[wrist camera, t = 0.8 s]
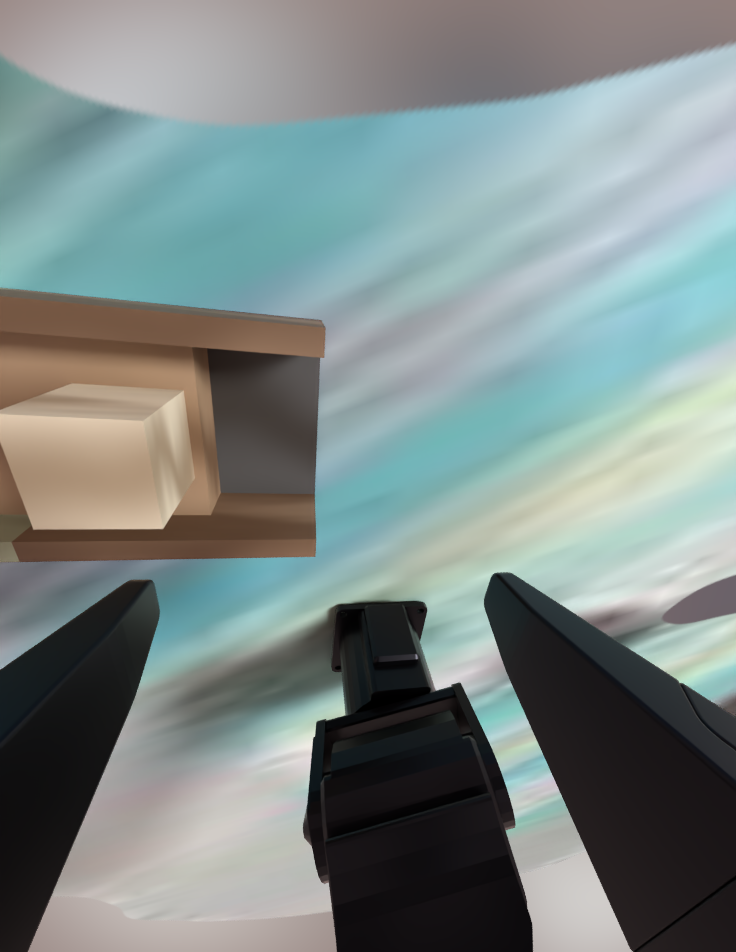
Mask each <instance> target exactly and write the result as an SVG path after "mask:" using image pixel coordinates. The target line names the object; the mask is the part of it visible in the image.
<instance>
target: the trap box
mask: <svg viewBox="0 0 736 952" xmlns="http://www.w3.org/2000/svg"><path fill="white" fill-rule="evenodd" d="M324 349H325V326H324V324H323V323H322V321H321V320H314V319H304V318H294V317H284V316H274V315H264V314H255V313H245V312H235V311H225V310H215V309H205V308H195V307H186V306H176V305H166V304H156V303H146V302H136V301H126V300H116V299H107V298H97V297H87V296H77V295H67V294H57V293H47V292H37V291H28V290H18V289H8V288H0V410H1V409H4V408H6V407H9V406H12V405H15V404H17V403H20V402H23V401H25V400H28V399H31V398H34V397H36V396H39V395H42V394H45V393H47V392H50V391H53V390H55V389H58V388H61V387H64V386H66V385H69V384H72V383H73V384H89V385H106V386H122V387H138V388H154V389H170V390H184V397H185V405H186V412H187V420H188V428H189V436H190V444H191V451H192V459H193V467H194V475H195V479H194V480H193V482H192V484H191V485H190V487H189V488H188V490H187V492H186V493H185V495H184V496H183V498H182V500H181V501H180V503H179V504H178V506H177V508H176V509H175V511H174V512H173V514H172V516H171V517H170V519H169V520H168V522H167V524H166V525H165V527H164V528H163V529H36V530H33V527H32V524H31V522H30V519H29V517H28V514H27V511H26V509H25V506H24V503H23V501H22V498H21V496H20V493H19V490H18V488H17V485H16V482H15V480H14V477H13V475H12V472H11V469H10V467H9V464H8V461H7V459H6V456H5V454H4V451H3V448H2V446H1V443H0V562H42V561H98V560H154V559H211V558H267V557H315V553H316V521H315V471H316V446H317V420H318V395H319V369H320V358H324Z"/></svg>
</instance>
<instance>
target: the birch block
mask: <svg viewBox="0 0 736 952" xmlns="http://www.w3.org/2000/svg"><path fill="white" fill-rule="evenodd" d="M0 443H1V446H2V448H3V451H4V454H5V456H6V459H7V461H8V464H9V467H10V469H11V472H12V475H13V477H14V480H15V482H16V485H17V488H18V490H19V493H20V496H21V498H22V501H23V503H24V506H25V509H26V511H27V514H28V517H29V519H30V522H31V524H32V527H33V530H36V529H163V528H164V527H165V525H166V524H167V522H168V520H169V519H170V517H171V516H172V514H173V512H174V511H175V509H176V508H177V506H178V504H179V503H180V501H181V500H182V498H183V496H184V495H185V493H186V492H187V490H188V488H189V487H190V485H191V484H192V482H193V480H194V479H195V475H194V467H193V459H192V451H191V444H190V436H189V428H188V420H187V412H186V405H185V397H184V390H170V389H154V388H138V387H122V386H106V385H89V384H73V383H72V384H69V385H66V386H64V387H61V388H58V389H55V390H53V391H50V392H47V393H45V394H42V395H39V396H36V397H34V398H31V399H28V400H25V401H23V402H20V403H17V404H15V405H12V406H9V407H6V408H4V409H1V410H0Z"/></svg>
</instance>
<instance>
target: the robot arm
mask: <svg viewBox="0 0 736 952" xmlns="http://www.w3.org/2000/svg"><path fill="white" fill-rule="evenodd" d="M484 607H485V610H486V613H487V616H488V619H489V622H490V625H491V628H492V631H493V634H494V637H495V640H496V643H497V646H498V649H499V652H500V655H501V658H502V661H503V664H504V666H505V669H506V672H507V674H508V676H509V679H510V681H511V683H512V686H513V688H514V690H515V692H516V694H517V697H518V699H519V701H520V703H521V706H522V708H523V710H524V712H525V715H526V717H527V719H528V721H529V724H530V726H531V728H532V730H533V732H534V735H535V737H536V739H537V741H538V744H539V746H540V748H541V750H542V753H543V755H544V757H545V759H546V761H547V764H548V766H549V768H550V770H551V773H552V775H553V777H554V779H555V782H556V784H557V786H558V788H559V791H560V793H561V795H562V797H563V799H564V802H565V804H566V806H567V808H568V811H569V813H570V815H571V817H572V820H573V822H574V824H575V826H576V829H577V831H578V833H579V835H580V837H581V840H582V842H583V844H584V846H585V849H586V851H587V853H588V855H589V857H590V860H591V862H592V864H593V866H594V869H595V871H596V873H597V875H598V878H599V880H600V882H601V884H602V887H603V889H604V891H605V893H606V895H607V898H608V900H609V902H610V905H611V907H612V909H613V911H614V913H615V916H616V918H617V920H618V922H619V924H620V927H621V929H622V931H623V934H624V936H625V938H626V940H627V942H628V945H629V947H630V949H631V950H632V951H633V952H736V717H735V716H733V715H732V714H730V713H729V712H727V711H725V710H724V709H722V708H721V707H719V706H717V705H716V704H714V703H713V702H711V701H710V700H708V699H706V698H705V697H703V696H702V695H700V694H699V693H697V692H696V691H694V690H692V689H691V688H689V687H688V686H686V685H685V684H683V683H679V681H678V680H677V679H675V678H674V677H672V676H671V675H669V674H668V673H666V672H664V671H663V670H661V669H660V668H658V667H657V666H655V665H654V664H652V663H650V662H649V661H647V660H646V659H644V658H643V657H641V656H640V655H638V654H636V653H635V652H633V651H632V650H630V649H629V648H627V647H626V646H624V645H622V644H621V643H619V642H618V641H616V640H615V639H613V638H612V637H610V636H608V635H607V634H605V633H604V632H602V631H601V630H599V629H598V628H596V627H595V626H593V625H591V624H590V623H588V622H587V621H585V620H584V619H582V618H581V617H579V616H577V615H576V614H574V613H573V612H571V611H570V610H568V609H567V608H565V607H563V606H562V605H560V604H559V603H557V602H556V601H554V600H553V599H551V598H549V597H548V596H546V595H545V594H543V593H542V592H540V591H539V590H537V589H535V588H534V587H532V586H531V585H529V584H528V583H526V582H525V581H523V580H522V579H520V578H518V577H517V576H515V575H514V574H512V573H508V572H506V573H494V574H493V575H492V577H491V579H490V582H489V585H488V588H487V591H486V594H485V598H484ZM342 612H345V613H342ZM426 614H427V607H426V605H425V603H424V602H401V603H377V604H354V605H340V606H339V607H337V608H336V612H335V624H334V636H333V648H332V660H331V667H332V670H333V671H334V672H342V681H343V692H344V704H345V715H346V716H342V717H338V718H335V719H331V720H326V719H324V720H320V721H317V723H316V734H315V737H314V738H313V748H312V759H311V770H310V782H309V793H308V804H307V809H306V813H305V818H304V823H303V833H304V838H305V839H306V840H307V841H308V842H309V844H310V845H311V846H312V849H313V854H314V860H315V865H316V869H317V872H318V876H319V878H320V880H321V882H322V883H324V884H325V883H328V882H329V887H330V895H331V903H332V911H333V919H334V927H335V935H336V946H337V952H533V937H532V936H533V935H532V922H531V918H530V915H529V912H528V909H527V900H526V896H525V892H524V889H523V885H522V882H521V879H520V876H519V873H518V869H517V866H516V863H515V860H514V857H513V854H512V850H511V847H510V844H509V841H508V838H507V834H506V831H505V830H508V829H511V828H515V818H514V813H513V809H512V805H511V801H510V798H509V795H508V791H507V788H506V785H505V782H504V779H503V776H502V773H501V771H500V768H499V765H498V763H497V760H496V758H495V755H494V753H493V750H492V748H491V746H490V744H489V742H488V739H487V737H486V735H485V733H484V731H483V729H482V727H481V725H480V723H479V721H478V719H477V716H476V714H475V712H474V710H473V708H472V706H471V704H470V702H469V700H468V698H467V695H466V693H465V691H464V689H463V687H462V685H461V683H456V684H452V685H451V686H452V687H448V688H444V689H441V690H437V691H436V690H435V687H434V684H433V681H432V678H431V675H430V672H429V669H428V666H427V663H426V660H425V656H424V653H423V650H422V647H421V644H420V639H421V635H422V631H423V626H424V622H425V618H426ZM159 615H160V609H159V604H158V599H157V594H156V589H155V584H154V582H153V581H152V580H130V581H127V582H126V583H124V584H123V585H121V586H120V587H118V588H117V589H116V590H114V591H113V592H111V593H110V594H108V595H107V596H106V597H104V598H103V599H101V600H100V601H98V602H97V603H95V604H94V605H93V606H91V607H90V608H88V609H87V610H85V611H84V612H83V613H81V614H80V615H78V616H77V617H75V618H74V619H73V620H71V621H70V622H68V623H67V624H65V625H64V626H62V627H61V628H60V629H58V630H57V631H55V632H54V633H52V634H51V635H50V636H48V637H47V638H45V639H44V640H42V641H41V642H39V643H38V644H37V645H35V646H34V647H32V648H31V649H29V650H28V651H27V652H25V653H24V654H22V655H21V656H19V657H18V658H17V659H15V660H14V661H12V662H11V663H9V664H8V665H6V666H5V667H4V668H2V669H1V670H0V952H28V950H29V947H30V945H31V943H32V941H33V938H34V936H35V933H36V931H37V929H38V926H39V924H40V922H41V919H42V917H43V914H44V912H45V910H46V907H47V905H48V903H49V900H50V898H51V896H52V893H53V891H54V889H55V886H56V884H57V881H58V879H59V877H60V874H61V872H62V870H63V867H64V865H65V863H66V860H67V858H68V855H69V853H70V851H71V848H72V846H73V844H74V841H75V839H76V837H77V834H78V832H79V829H80V827H81V825H82V822H83V820H84V818H85V815H86V813H87V811H88V808H89V806H90V804H91V801H92V799H93V796H94V794H95V792H96V789H97V787H98V785H99V782H100V780H101V778H102V775H103V773H104V770H105V768H106V766H107V763H108V761H109V759H110V756H111V754H112V752H113V749H114V747H115V744H116V742H117V740H118V737H119V735H120V733H121V730H122V728H123V726H124V723H125V721H126V718H127V716H128V714H129V711H130V709H131V706H132V704H133V701H134V699H135V696H136V693H137V689H138V686H139V683H140V680H141V677H142V673H143V670H144V667H145V664H146V660H147V657H148V654H149V651H150V647H151V644H152V641H153V637H154V634H155V631H156V628H157V624H158V621H159Z"/></svg>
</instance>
